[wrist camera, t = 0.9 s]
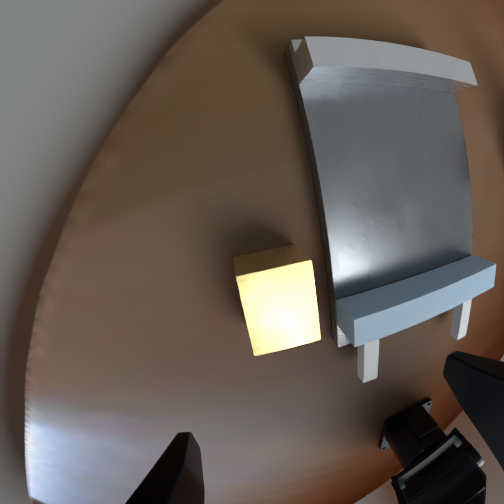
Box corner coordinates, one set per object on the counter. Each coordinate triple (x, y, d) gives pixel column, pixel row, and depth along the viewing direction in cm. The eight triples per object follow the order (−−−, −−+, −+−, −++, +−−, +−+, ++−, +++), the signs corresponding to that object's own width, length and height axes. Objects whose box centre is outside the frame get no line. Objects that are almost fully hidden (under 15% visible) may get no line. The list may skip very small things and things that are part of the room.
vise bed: (460, 291, 21) (468, 295, 20) (332, 339, 20) (338, 347, 19) (435, 64, 16) (443, 60, 15) (284, 52, 15) (288, 45, 14)
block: (303, 311, 20) (320, 339, 16) (248, 324, 19) (254, 356, 15) (293, 244, 18) (311, 259, 14) (232, 256, 18) (235, 276, 14)
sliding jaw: (465, 323, 20) (484, 336, 18) (339, 377, 20) (353, 401, 17) (472, 254, 19) (496, 263, 16) (335, 300, 18) (354, 319, 15)
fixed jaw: (453, 92, 15) (477, 85, 12) (299, 84, 15) (313, 66, 12) (443, 60, 15) (465, 51, 12) (288, 45, 14) (299, 22, 11)
